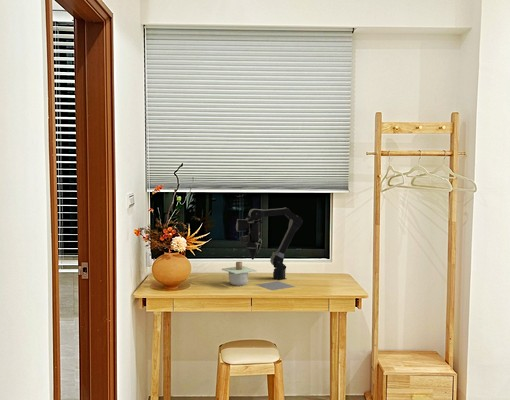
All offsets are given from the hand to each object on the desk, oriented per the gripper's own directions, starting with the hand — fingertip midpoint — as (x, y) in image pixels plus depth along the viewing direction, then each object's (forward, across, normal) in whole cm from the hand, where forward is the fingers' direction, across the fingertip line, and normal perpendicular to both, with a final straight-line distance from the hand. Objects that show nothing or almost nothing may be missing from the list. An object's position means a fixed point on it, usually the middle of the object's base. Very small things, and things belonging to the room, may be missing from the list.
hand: (254, 258), depth 332 cm
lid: (+5, +12, -6) cm, 15 cm away
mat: (+13, +13, +14) cm, 23 cm away
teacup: (+13, +12, -6) cm, 19 cm away
